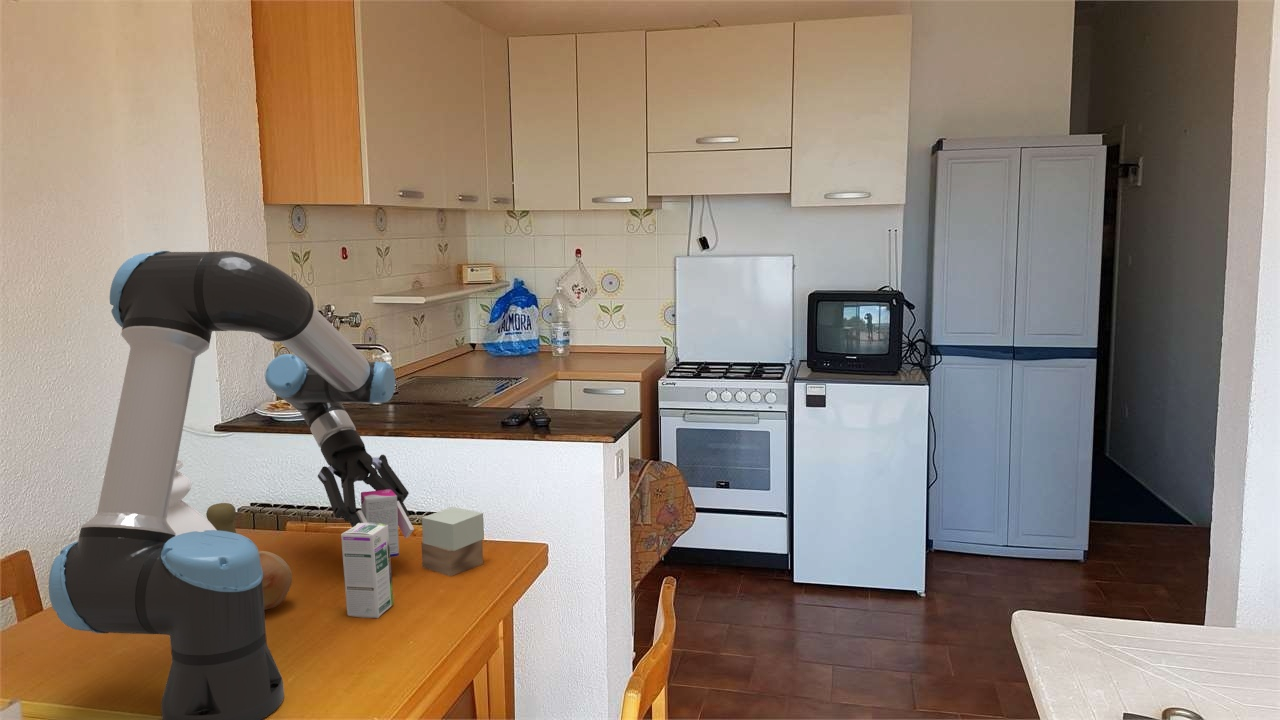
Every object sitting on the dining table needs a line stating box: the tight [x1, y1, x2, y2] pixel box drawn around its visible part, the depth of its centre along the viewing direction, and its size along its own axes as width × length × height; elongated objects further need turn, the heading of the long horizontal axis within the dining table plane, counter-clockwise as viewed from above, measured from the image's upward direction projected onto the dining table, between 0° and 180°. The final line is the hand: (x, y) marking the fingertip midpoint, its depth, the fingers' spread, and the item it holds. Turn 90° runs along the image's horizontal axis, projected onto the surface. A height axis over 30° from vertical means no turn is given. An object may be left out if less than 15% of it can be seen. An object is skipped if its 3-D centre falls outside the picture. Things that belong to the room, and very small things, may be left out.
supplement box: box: [360, 489, 400, 558], centre depth 177 cm, size 6×6×12 cm
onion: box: [258, 550, 293, 611], centre depth 162 cm, size 10×10×10 cm
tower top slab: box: [421, 506, 485, 551], centre depth 181 cm, size 8×8×5 cm
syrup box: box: [340, 523, 394, 619], centre depth 160 cm, size 6×6×14 cm
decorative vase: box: [166, 458, 216, 536], centre depth 163 cm, size 18×18×25 cm
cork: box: [205, 502, 237, 533], centre depth 187 cm, size 6×6×11 cm
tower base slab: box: [420, 539, 484, 577], centre depth 182 cm, size 8×8×5 cm
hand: (391, 538), depth 175 cm, fingers closed on supplement box, 7 cm apart
